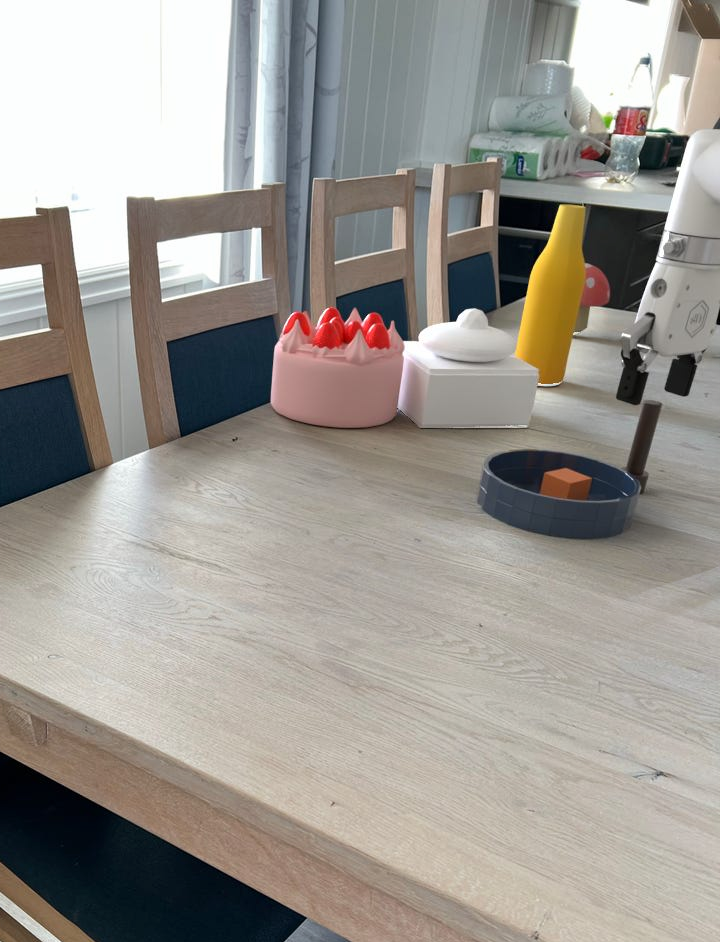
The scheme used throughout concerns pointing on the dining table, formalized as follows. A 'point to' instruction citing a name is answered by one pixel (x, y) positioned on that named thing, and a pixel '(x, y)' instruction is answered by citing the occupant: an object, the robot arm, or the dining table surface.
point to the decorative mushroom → (592, 295)
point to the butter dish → (466, 376)
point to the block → (566, 484)
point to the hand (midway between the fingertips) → (652, 397)
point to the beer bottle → (554, 298)
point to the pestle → (643, 441)
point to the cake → (337, 370)
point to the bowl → (522, 506)
